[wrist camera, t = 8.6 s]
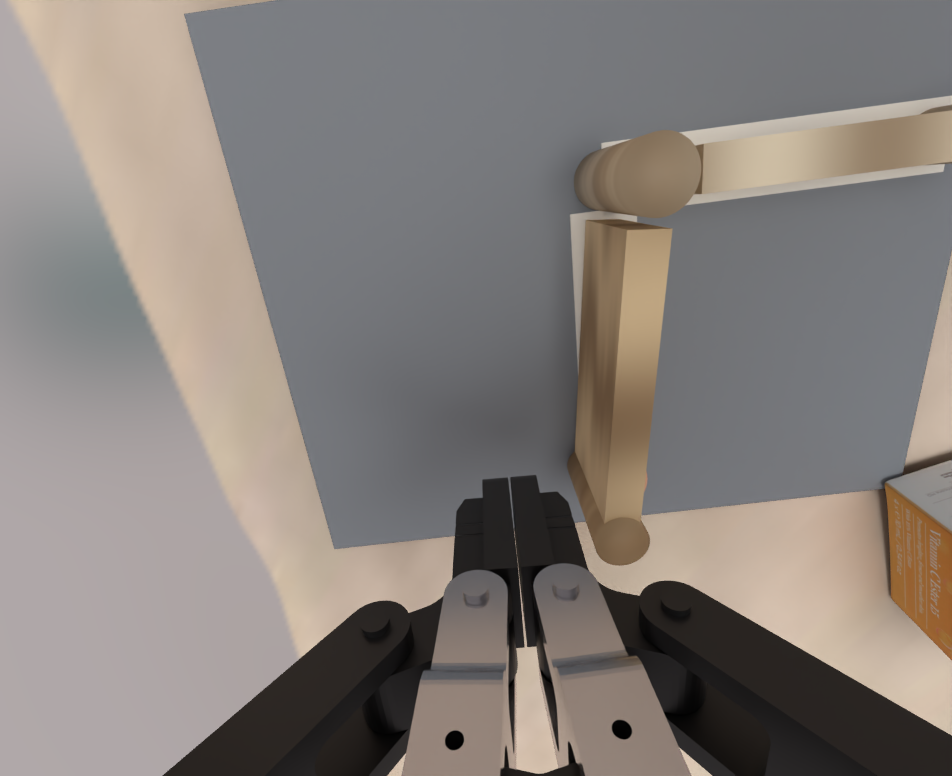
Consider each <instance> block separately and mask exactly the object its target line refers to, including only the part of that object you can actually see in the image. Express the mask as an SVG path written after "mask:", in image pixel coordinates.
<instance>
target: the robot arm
mask: <svg viewBox="0 0 952 776" xmlns="http://www.w3.org/2000/svg"><path fill="white" fill-rule="evenodd" d="M510 482H511V494H512V506H513V518H514V527H513V518H512V509H511V500H510V491H509V482H508V477H505V478H493V479H482V493H483V498H472V499H464V501H463V502H462V504H461V505H460V507H459V508H458V510H457V511H456V527H455V543H454V560H453V577H452V580H451V581H450V583H449V584H448V585H447V587H446V589H445V592H444V596H443V597H442V598H441V599H439V600H438V601H437V602H435V603H433V604H432V605H430V606H427V607H425V608H422V609H419V610H416V611H414V612H411V613H408V612H407V610H406V609H405V608H404V607H403V606H402V605H400V604H398V603H396V602H393V601H377V602H373V603H370V604H368V605H365V606H363V607H362V608H360V609H358V610H357V611H356V612H354V613H353V614H352V615H351V616H350V617H349V618H347V619H346V620H345V621H344V622H343V623H341V624H340V625H339V626H338V627H337V628H336V629H334V630H333V631H332V632H331V633H330V634H329V635H327V636H326V637H325V638H324V639H323V640H321V641H320V642H319V643H318V644H317V645H316V646H314V647H313V648H312V649H311V650H310V651H309V652H307V653H306V654H305V655H304V656H303V657H302V658H300V659H299V660H298V661H297V662H296V663H294V664H293V665H292V666H291V667H290V668H289V669H287V670H286V671H285V672H284V673H283V674H282V675H280V676H279V677H278V678H277V679H276V680H275V681H273V682H272V683H271V684H270V685H269V686H267V687H266V688H265V689H264V690H263V691H262V692H260V693H259V694H258V695H257V696H256V697H254V698H253V699H252V700H251V701H250V702H249V703H247V704H246V705H245V706H244V707H243V708H242V709H241V710H239V711H238V712H237V713H236V714H234V715H233V716H232V717H231V718H230V719H229V720H227V721H226V722H225V723H224V724H223V725H222V726H220V727H219V728H218V729H217V730H216V731H215V732H213V733H212V734H211V735H210V736H209V737H207V738H206V739H205V740H204V741H203V742H202V743H201V744H199V745H198V746H197V747H196V748H195V749H193V750H192V751H191V752H190V753H189V754H188V755H186V756H185V757H184V758H183V759H182V760H181V761H179V762H178V763H177V764H176V765H175V766H173V767H172V768H171V769H170V770H169V771H167V772H166V773H165V774H164V775H163V776H387V775H388V774H389V773H390V771H391V770H392V769H393V768H394V767H395V765H396V764H397V763H398V762H399V760H400V759H401V758H402V757H403V756H404V754H405V753H406V756H405V761H404V766H403V772H402V776H691V774H690V771H689V769H688V767H687V765H686V762H685V760H684V758H683V755H682V753H681V751H680V749H679V747H680V748H681V749H682V750H683V751H684V752H685V753H687V754H688V755H689V756H690V757H691V758H692V759H694V760H695V761H696V762H697V763H698V764H700V765H701V766H702V767H703V768H704V769H705V770H707V771H708V772H709V773H710V774H711V775H712V776H952V736H951V735H950V734H948V733H946V732H944V731H943V730H941V729H939V728H937V727H936V726H934V725H932V724H930V723H929V722H927V721H925V720H924V719H922V718H920V717H918V716H917V715H915V714H913V713H911V712H910V711H908V710H906V709H904V708H903V707H901V706H899V705H897V704H896V703H894V702H892V701H890V700H889V699H887V698H885V697H883V696H882V695H880V694H878V693H876V692H875V691H873V690H871V689H870V688H868V687H866V686H864V685H863V684H861V683H859V682H857V681H856V680H854V679H852V678H850V677H849V676H847V675H845V674H843V673H842V672H840V671H838V670H836V669H835V668H833V667H831V666H829V665H828V664H826V663H824V662H822V661H821V660H819V659H817V658H815V657H814V656H812V655H810V654H809V653H807V652H805V651H803V650H802V649H800V648H798V647H796V646H795V645H793V644H791V643H789V642H788V641H786V640H784V639H782V638H781V637H779V636H777V635H775V634H774V633H772V632H770V631H768V630H767V629H765V628H763V627H761V626H760V625H758V624H756V623H755V622H753V621H751V620H749V619H748V618H746V617H744V616H742V615H741V614H739V613H737V612H735V611H734V610H732V609H730V608H728V607H727V606H725V605H723V604H721V603H720V602H718V601H716V600H714V599H713V598H711V597H709V596H707V595H706V594H704V593H702V592H700V591H699V590H697V589H695V588H693V587H691V586H689V585H687V584H684V583H681V582H676V581H659V582H655V583H652V584H650V585H648V586H647V587H646V588H645V589H644V590H643V591H642V593H641V594H640V596H637V595H632V594H626V593H621V592H617V591H614V590H611V589H609V588H607V587H605V586H603V585H602V584H600V583H599V582H597V580H596V578H595V577H594V576H593V574H591V573H590V572H589V570H588V568H587V564H586V561H585V557H584V554H583V551H582V547H581V544H580V540H579V537H578V533H577V530H576V528H575V523H574V520H573V518H572V513H571V510H570V506H569V503H568V501H567V500H566V499H565V498H564V497H563V496H562V495H560V494H559V493H558V492H557V491H556V492H544V493H540V490H539V486H538V481H537V476H536V475H528V476H516V477H510ZM514 530H515V536H514ZM515 540H516V545H515ZM516 550H517V554H516ZM517 559H518V563H517ZM518 567H519V574H518ZM519 576H520V585H521V594H522V603H523V612H524V621H525V630H526V639H527V647H534V646H537V654H538V661H539V676H540V683H541V688H542V692H543V697H544V702H545V706H546V711H547V716H548V721H549V725H550V730H551V735H552V739H553V744H554V749H555V753H556V758H557V763H558V769H555V770H553V771H550V772H547V773H544V774H535V773H530V772H526V771H521V770H517V769H516V673H517V665H518V663H517V652H516V648H522V647H524V635H523V623H522V611H521V599H520V586H519Z"/></svg>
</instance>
